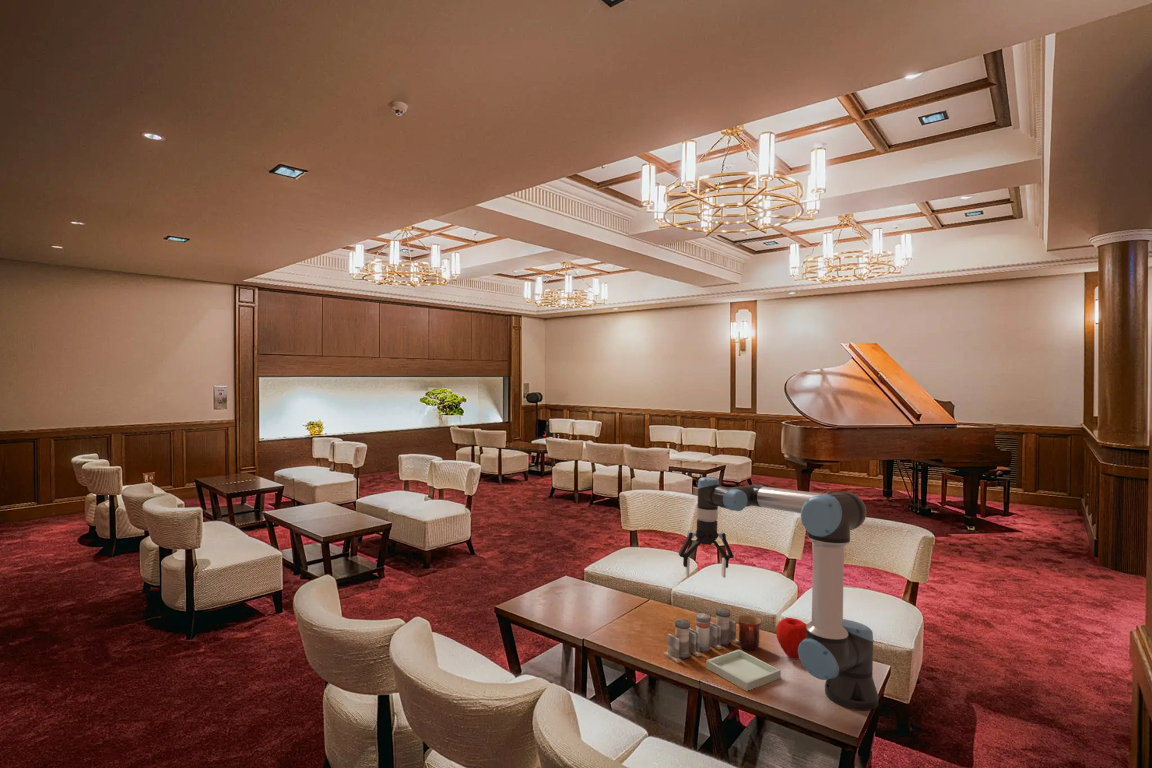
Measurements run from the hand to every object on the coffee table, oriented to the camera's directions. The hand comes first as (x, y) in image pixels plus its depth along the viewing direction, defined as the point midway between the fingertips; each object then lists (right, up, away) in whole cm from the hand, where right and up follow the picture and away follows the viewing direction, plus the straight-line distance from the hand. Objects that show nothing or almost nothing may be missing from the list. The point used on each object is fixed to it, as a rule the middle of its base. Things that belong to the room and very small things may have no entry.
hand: (705, 576), depth 211 cm
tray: (+8, -26, -20) cm, 34 cm away
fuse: (-2, -26, -3) cm, 26 cm away
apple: (+30, -27, -7) cm, 41 cm away
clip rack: (-2, -26, -3) cm, 26 cm away
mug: (+16, -27, -2) cm, 31 cm away
